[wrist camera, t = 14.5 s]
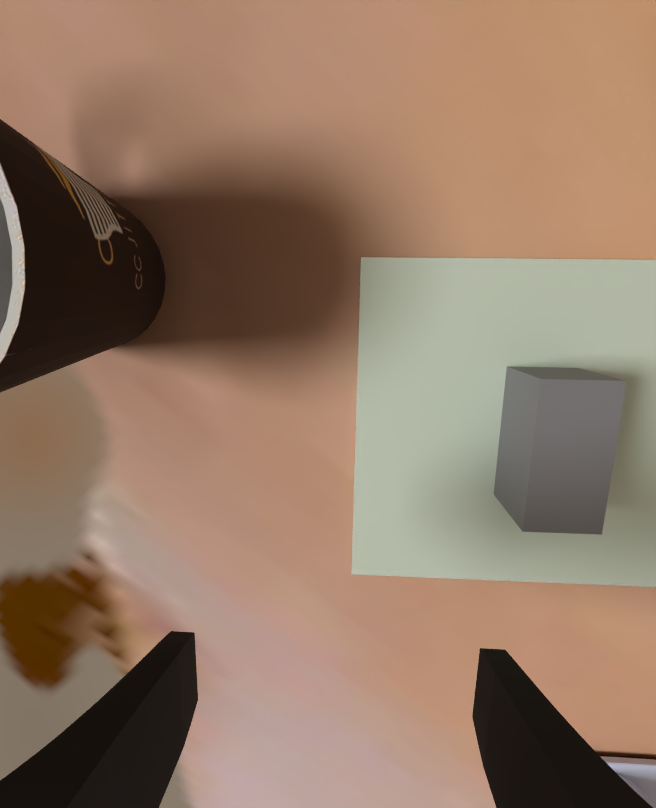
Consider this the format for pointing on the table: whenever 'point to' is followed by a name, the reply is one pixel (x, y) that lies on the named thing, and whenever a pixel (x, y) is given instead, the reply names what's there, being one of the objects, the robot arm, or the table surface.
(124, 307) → the coffee mug
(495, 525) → the lid
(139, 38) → the table surface
